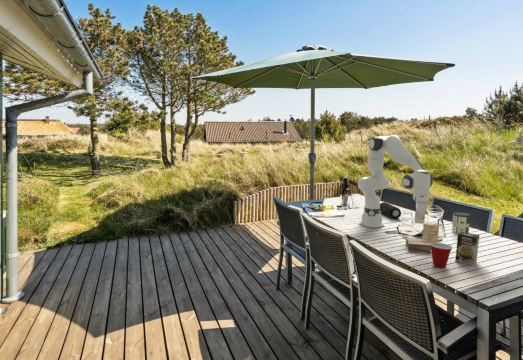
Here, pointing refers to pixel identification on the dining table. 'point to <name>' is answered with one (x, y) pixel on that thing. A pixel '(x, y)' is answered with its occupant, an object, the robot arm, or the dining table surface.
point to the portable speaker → (390, 210)
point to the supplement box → (431, 232)
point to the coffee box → (467, 248)
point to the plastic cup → (440, 254)
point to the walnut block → (418, 245)
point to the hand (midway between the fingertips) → (419, 218)
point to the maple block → (419, 220)
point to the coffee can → (460, 222)
